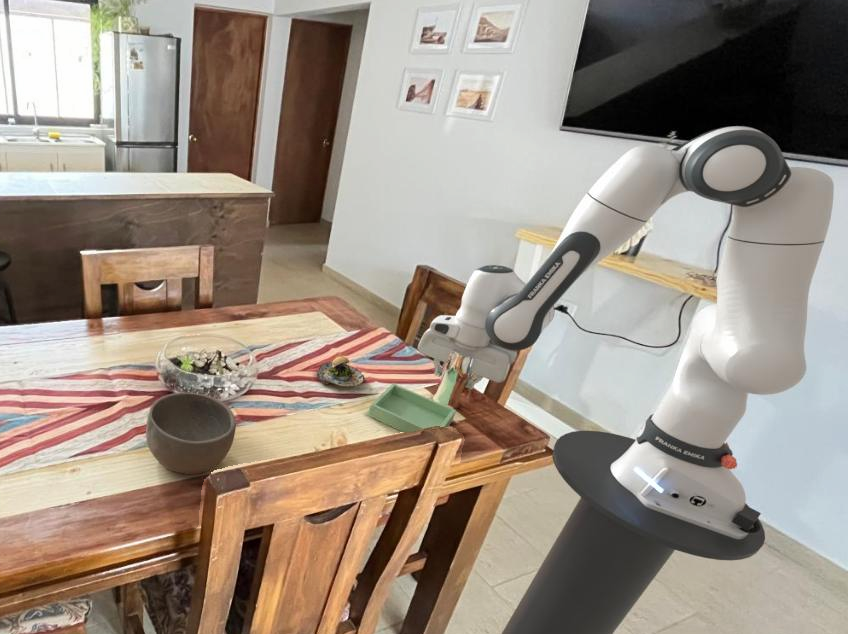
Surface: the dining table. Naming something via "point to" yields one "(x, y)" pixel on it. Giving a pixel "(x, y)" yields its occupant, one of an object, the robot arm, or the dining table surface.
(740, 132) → the robot arm
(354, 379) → the burger
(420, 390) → the dining table surface
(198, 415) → the bowl
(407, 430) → the serving tray
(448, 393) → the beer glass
